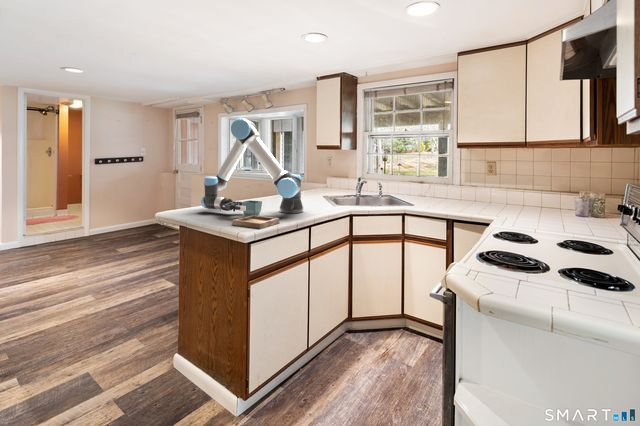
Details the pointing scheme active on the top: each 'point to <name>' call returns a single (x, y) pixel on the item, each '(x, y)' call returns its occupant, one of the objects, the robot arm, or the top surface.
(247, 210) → the flower pot
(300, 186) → the robot arm
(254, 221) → the walnut tray
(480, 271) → the top surface
